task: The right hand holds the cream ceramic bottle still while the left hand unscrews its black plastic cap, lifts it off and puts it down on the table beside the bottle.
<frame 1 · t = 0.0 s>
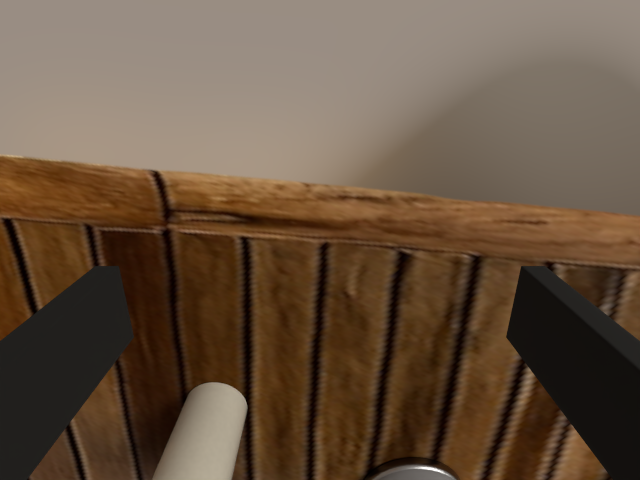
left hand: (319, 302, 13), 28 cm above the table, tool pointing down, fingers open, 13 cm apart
bottle: (216, 406, 51), on the table
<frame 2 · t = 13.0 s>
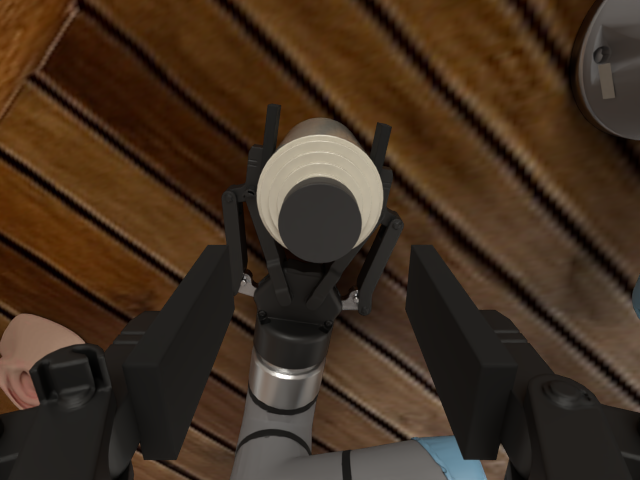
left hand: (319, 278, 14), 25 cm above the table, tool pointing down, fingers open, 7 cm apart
right hand: (329, 115, 31), fingers closed on bottle, 8 cm apart
cap: (319, 223, 20), point 19 cm above the table, screwed on, not yet turned
anatomical model: (51, 361, 47), on the table
bottle: (319, 160, 38), on the table, touching right hand
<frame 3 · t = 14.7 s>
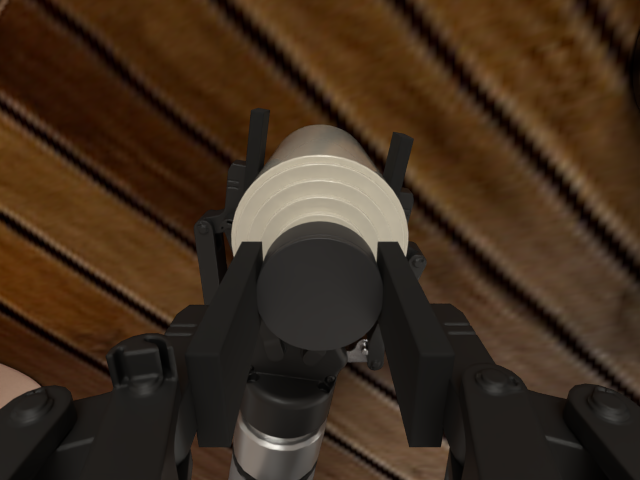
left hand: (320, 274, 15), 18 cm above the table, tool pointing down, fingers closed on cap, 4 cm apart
cap: (319, 293, 13), point 19 cm above the table, screwed on, not yet turned, touching left hand
anatomical model: (4, 408, 40), on the table
bottle: (319, 176, 31), on the table, touching right hand
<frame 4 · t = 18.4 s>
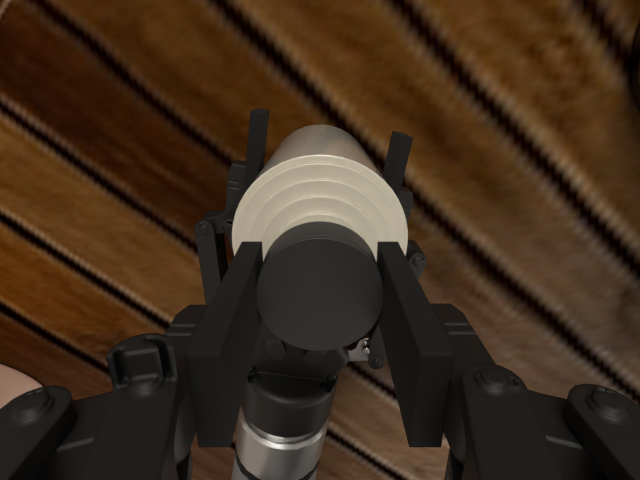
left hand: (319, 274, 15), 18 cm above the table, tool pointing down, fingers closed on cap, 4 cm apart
cap: (319, 293, 13), point 19 cm above the table, turned 116° so far, risen 0.1 cm, still on its thread, touching left hand
anatomical model: (8, 409, 40), on the table
bottle: (319, 176, 31), on the table, touching right hand
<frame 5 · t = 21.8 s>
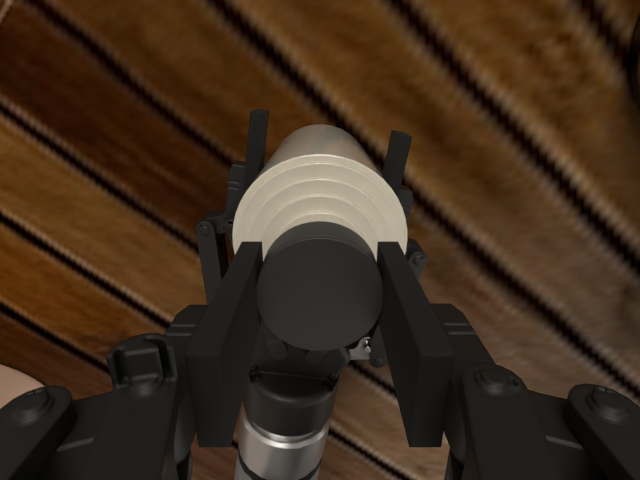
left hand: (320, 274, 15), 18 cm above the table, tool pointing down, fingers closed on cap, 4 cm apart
cap: (319, 293, 13), point 19 cm above the table, turned 233° so far, risen 0.2 cm, still on its thread, touching left hand
anatomical model: (12, 411, 40), on the table
bottle: (319, 176, 31), on the table, touching right hand
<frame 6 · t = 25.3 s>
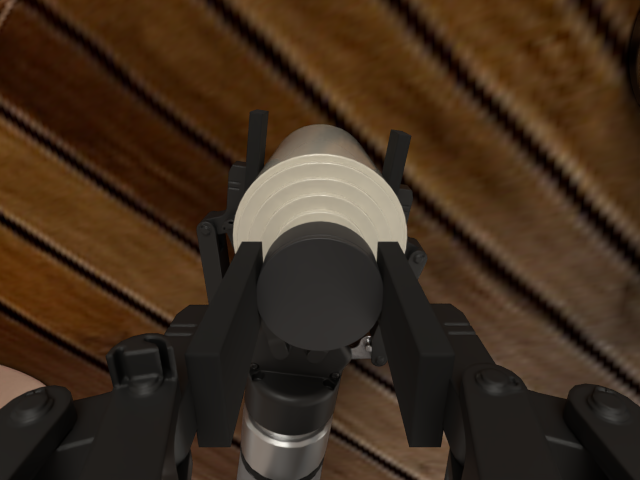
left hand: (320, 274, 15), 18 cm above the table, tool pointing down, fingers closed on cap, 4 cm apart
cap: (319, 293, 13), point 19 cm above the table, turned 349° so far, risen 0.3 cm, still on its thread, touching left hand
anatomical model: (15, 412, 41), on the table
bottle: (320, 175, 31), on the table, touching right hand
when the left hand's fingers open (2 cm above the table, at t = 32.3 s): cap drops 2 cm, point 1 cm above the table.
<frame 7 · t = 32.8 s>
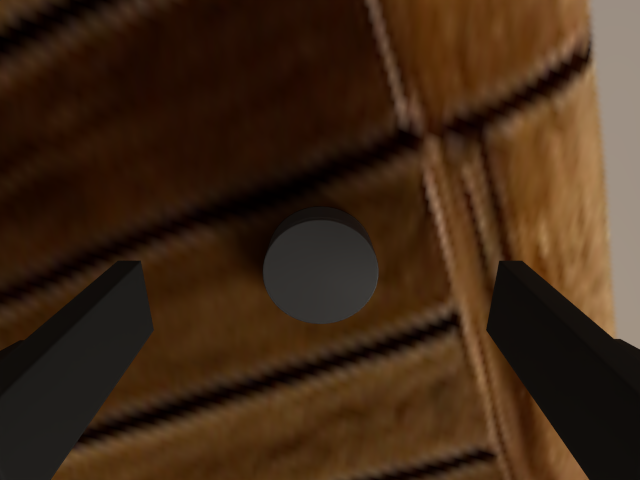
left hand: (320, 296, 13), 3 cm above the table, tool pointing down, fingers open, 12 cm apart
cap: (320, 271, 15), point 1 cm above the table, off its thread
when the right hand's fingers open (6 cm above the table, at t = 33.6 s): bottle stays where it is, on the table.
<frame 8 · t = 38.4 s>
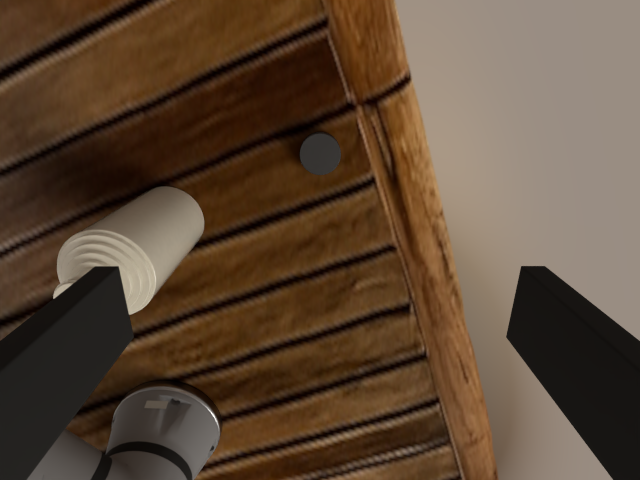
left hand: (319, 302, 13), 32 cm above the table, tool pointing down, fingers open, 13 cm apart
cap: (320, 154, 41), point 1 cm above the table, off its thread
bottle: (170, 219, 46), on the table
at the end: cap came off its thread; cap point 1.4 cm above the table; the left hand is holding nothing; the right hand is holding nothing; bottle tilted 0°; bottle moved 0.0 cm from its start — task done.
